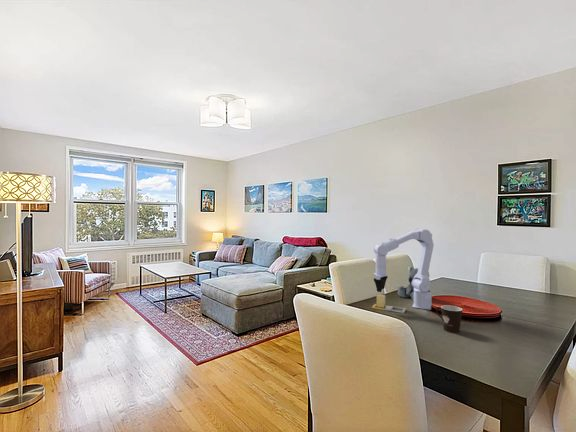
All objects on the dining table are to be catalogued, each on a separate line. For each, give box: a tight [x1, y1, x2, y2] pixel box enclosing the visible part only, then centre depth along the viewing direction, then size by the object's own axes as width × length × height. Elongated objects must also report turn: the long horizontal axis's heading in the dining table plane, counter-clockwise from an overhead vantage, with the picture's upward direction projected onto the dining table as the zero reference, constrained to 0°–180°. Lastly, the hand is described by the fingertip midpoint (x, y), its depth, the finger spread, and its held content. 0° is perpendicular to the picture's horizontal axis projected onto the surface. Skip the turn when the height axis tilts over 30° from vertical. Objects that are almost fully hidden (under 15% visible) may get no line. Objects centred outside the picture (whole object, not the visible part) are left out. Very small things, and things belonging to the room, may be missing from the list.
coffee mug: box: [435, 304, 463, 334], centre depth 140 cm, size 12×9×10 cm
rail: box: [371, 303, 407, 314], centre depth 169 cm, size 17×6×1 cm, turn 61°
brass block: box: [375, 293, 386, 308], centre depth 171 cm, size 4×4×7 cm
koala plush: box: [397, 265, 431, 302], centre depth 192 cm, size 17×18×20 cm
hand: (380, 290), depth 171 cm, fingers open, 7 cm apart
